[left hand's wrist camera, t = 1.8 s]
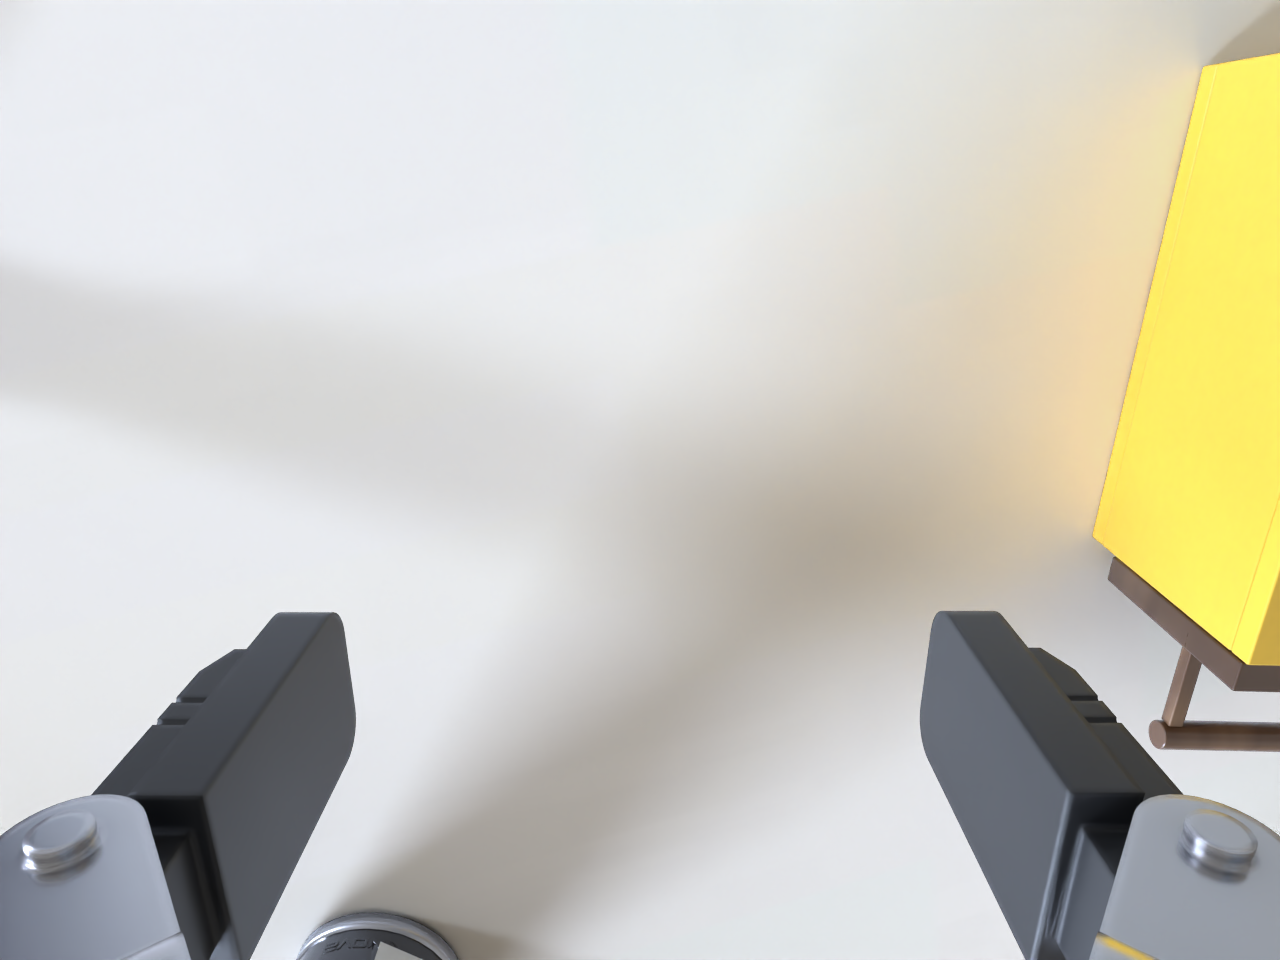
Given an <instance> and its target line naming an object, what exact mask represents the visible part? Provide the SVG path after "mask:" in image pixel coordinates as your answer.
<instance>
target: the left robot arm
mask: <svg viewBox="0 0 1280 960" xmlns="http://www.w3.org/2000/svg"><path fill="white" fill-rule="evenodd" d="M355 727H356V712H355V704H354V697H353V689H352V682H351V675H350V668H349V661H348V654H347V647H346V639H345V632H344V627H343V623H342V620H341V618H340V616H339V615H338V614H337V613H334V612H281V613H277V614H276V615H275V616H274V617H273V618H272V619H271V620H270V621H269V622H268V624H267V625H266V626H265V627H264V629H263V630H262V631H261V632H260V633H259V635H258V636H257V637H256V638H255V640H254V641H253V642H252V643H251V645H250V646H249V647H248V648H247V649H234V650H233V651H231V652H230V653H228V654H226V655H225V656H223V657H222V658H220V659H219V660H217V661H215V662H214V663H212V664H211V665H209V666H207V667H206V668H204V669H203V670H201V671H199V673H198V674H197V675H196V676H195V677H194V678H193V679H192V681H191V682H190V683H189V684H188V685H187V686H186V687H185V689H184V690H183V691H182V692H181V693H180V694H179V695H178V697H177V701H176V703H171V705H170V706H169V707H168V708H167V709H166V710H165V711H164V713H163V714H162V715H161V716H160V717H159V718H158V723H157V725H152V726H151V727H150V729H149V730H148V731H147V732H146V733H145V734H144V735H143V737H142V738H141V739H140V740H139V741H138V742H137V743H136V745H135V746H134V747H133V748H132V749H131V750H130V751H129V753H128V754H127V755H126V756H125V757H124V758H123V759H122V761H121V762H120V763H119V764H118V765H117V766H116V767H115V769H114V770H113V771H112V772H111V773H110V774H109V775H108V777H107V778H106V779H105V780H104V781H103V782H102V783H101V785H100V786H99V787H98V788H97V789H96V790H95V791H94V793H93V794H92V795H91V796H85V797H80V798H76V799H71V800H68V801H65V802H62V803H59V804H56V805H54V806H51V807H49V808H46V809H44V810H42V811H39V812H37V813H35V814H33V815H31V816H29V817H28V818H26V819H24V820H23V821H21V822H19V823H18V824H16V825H15V826H13V827H12V828H10V829H9V830H8V831H6V832H5V833H4V834H2V835H1V836H0V960H250V958H251V956H252V954H253V952H254V950H255V948H256V946H257V944H258V942H259V940H260V938H261V936H262V934H263V932H264V930H265V928H266V926H267V924H268V922H269V920H270V918H271V915H272V913H273V911H274V909H275V907H276V905H277V903H278V901H279V899H280V897H281V895H282V893H283V891H284V889H285V887H286V885H287V883H288V881H289V879H290V877H291V875H292V873H293V871H294V869H295V867H296V865H297V863H298V861H299V859H300V857H301V855H302V853H303V851H304V849H305V847H306V844H307V842H308V840H309V838H310V836H311V834H312V832H313V830H314V828H315V826H316V824H317V822H318V820H319V818H320V816H321V814H322V812H323V810H324V808H325V806H326V804H327V802H328V800H329V798H330V796H331V794H332V792H333V790H334V788H335V786H336V784H337V782H338V780H339V778H340V776H341V773H342V771H343V769H344V767H345V765H346V763H347V761H348V759H349V757H350V754H351V751H352V747H353V742H354V736H355ZM920 729H921V737H922V742H923V746H924V750H925V753H926V756H927V758H928V760H929V762H930V764H931V767H932V769H933V771H934V773H935V775H936V777H937V779H938V781H939V783H940V785H941V787H942V789H943V791H944V793H945V795H946V797H947V799H948V801H949V804H950V806H951V808H952V810H953V812H954V814H955V816H956V818H957V820H958V822H959V824H960V826H961V828H962V830H963V832H964V834H965V836H966V838H967V840H968V843H969V845H970V847H971V849H972V851H973V853H974V855H975V857H976V859H977V861H978V863H979V865H980V867H981V869H982V871H983V873H984V875H985V877H986V879H987V882H988V884H989V886H990V888H991V890H992V892H993V894H994V896H995V898H996V900H997V902H998V904H999V906H1000V908H1001V910H1002V912H1003V914H1004V916H1005V919H1006V921H1007V923H1008V925H1009V927H1010V929H1011V931H1012V933H1013V935H1014V937H1015V939H1016V941H1017V943H1018V945H1019V947H1020V949H1021V951H1022V953H1023V955H1024V958H1025V960H1280V836H1279V835H1278V834H1276V833H1275V832H1274V831H1272V830H1271V829H1270V828H1268V827H1267V826H1265V825H1264V824H1262V823H1261V822H1259V821H1257V820H1256V819H1254V818H1252V817H1251V816H1249V815H1247V814H1245V813H1243V812H1241V811H1238V810H1236V809H1234V808H1231V807H1229V806H1226V805H1224V804H1221V803H1218V802H1215V801H1212V800H1209V799H1204V798H1200V797H1195V796H1188V795H1183V794H1182V792H1181V791H1180V790H1179V789H1178V788H1177V787H1176V786H1175V784H1174V783H1173V782H1172V781H1171V780H1170V779H1169V777H1168V776H1167V775H1166V774H1165V773H1164V772H1163V771H1162V769H1161V768H1160V767H1159V766H1158V765H1157V764H1156V762H1155V761H1154V760H1153V759H1152V758H1151V757H1150V756H1149V754H1148V753H1147V752H1146V751H1145V750H1144V749H1143V747H1142V746H1141V745H1140V744H1139V743H1138V742H1137V741H1136V739H1135V738H1134V737H1133V736H1132V735H1131V734H1130V732H1129V731H1128V730H1127V729H1126V728H1125V727H1124V726H1123V724H1122V723H1117V721H1116V716H1115V715H1114V714H1113V713H1112V712H1111V711H1110V709H1109V708H1108V707H1107V706H1106V705H1105V704H1104V702H1103V701H1098V696H1097V694H1096V693H1095V692H1094V691H1093V690H1092V689H1091V687H1090V686H1089V685H1088V684H1087V683H1086V682H1085V681H1084V679H1083V678H1082V677H1081V676H1080V675H1079V674H1078V672H1077V671H1076V670H1075V669H1073V668H1071V667H1070V666H1068V665H1067V664H1065V663H1064V662H1062V661H1060V660H1059V659H1057V658H1056V657H1054V656H1052V655H1051V654H1049V653H1048V652H1046V651H1045V650H1043V649H1041V648H1028V647H1027V646H1026V645H1025V643H1024V642H1023V641H1022V640H1021V638H1020V637H1019V636H1018V635H1017V633H1016V632H1015V631H1014V630H1013V628H1012V627H1011V626H1010V625H1009V624H1008V622H1007V621H1006V620H1005V619H1004V617H1003V616H1002V615H1001V614H1000V613H998V612H996V611H940V612H938V613H937V614H936V616H935V618H934V620H933V623H932V628H931V635H930V642H929V649H928V657H927V664H926V671H925V678H924V686H923V693H922V700H921V708H920ZM296 960H458V959H457V957H456V955H455V953H454V952H453V950H452V949H451V948H450V946H449V945H448V944H447V943H446V942H445V941H444V940H443V939H442V938H441V937H440V936H438V935H437V934H436V933H434V932H433V931H431V930H430V929H428V928H427V927H425V926H423V925H421V924H419V923H417V922H414V921H412V920H409V919H406V918H403V917H399V916H395V915H390V914H382V913H360V914H353V915H347V916H343V917H340V918H337V919H334V920H332V921H330V922H328V923H326V924H324V925H322V926H321V927H319V928H318V929H317V930H315V931H314V932H313V933H312V934H311V935H310V936H309V937H308V938H307V939H306V941H305V942H304V944H303V946H302V948H301V950H300V952H299V954H298V957H297V959H296Z"/></svg>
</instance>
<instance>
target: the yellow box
mask: <svg viewBox="0 0 1280 960" xmlns="http://www.w3.org/2000/svg"><path fill="white" fill-rule="evenodd" d="M1093 538H1095V539H1096V540H1097V541H1098V542H1100V543H1101V544H1103V546H1104V547H1105V548H1107V549H1108V550H1109V551H1110V552H1111V553H1113V554H1114V555H1115V556H1116V557H1118V558H1119V559H1120V560H1121V561H1122V562H1124V563H1125V564H1126V565H1127V566H1128V567H1130V568H1131V569H1132V570H1133V571H1134V572H1136V573H1137V574H1138V575H1139V576H1141V577H1142V578H1143V579H1144V580H1145V581H1147V582H1148V583H1149V584H1150V585H1151V586H1153V587H1154V588H1155V589H1156V590H1157V591H1159V592H1160V593H1161V594H1162V595H1164V596H1165V597H1166V598H1167V599H1168V600H1170V601H1171V602H1172V603H1173V604H1174V605H1176V606H1177V607H1178V608H1179V609H1180V610H1182V611H1183V612H1184V613H1185V614H1187V615H1188V616H1189V617H1190V618H1191V619H1193V620H1194V621H1195V622H1196V623H1197V624H1199V625H1200V626H1201V627H1202V628H1204V629H1205V630H1206V631H1207V632H1208V633H1210V634H1211V635H1212V636H1213V637H1214V638H1216V639H1217V640H1218V641H1219V642H1220V643H1222V644H1223V645H1224V646H1225V647H1227V648H1228V649H1229V650H1232V652H1233V653H1234V654H1235V655H1236V656H1238V657H1239V658H1240V659H1241V660H1242V661H1244V662H1245V663H1246V664H1248V665H1274V666H1280V53H1275V54H1270V55H1264V56H1258V57H1252V58H1247V59H1241V60H1235V61H1229V62H1224V63H1218V64H1213V65H1207V66H1204V67H1203V69H1202V74H1201V78H1200V82H1199V86H1198V91H1197V95H1196V99H1195V103H1194V107H1193V112H1192V116H1191V120H1190V124H1189V129H1188V133H1187V137H1186V141H1185V146H1184V150H1183V154H1182V158H1181V162H1180V167H1179V171H1178V175H1177V179H1176V184H1175V188H1174V192H1173V196H1172V201H1171V205H1170V209H1169V213H1168V217H1167V222H1166V226H1165V230H1164V234H1163V239H1162V243H1161V247H1160V251H1159V256H1158V260H1157V264H1156V268H1155V273H1154V277H1153V281H1152V285H1151V289H1150V294H1149V298H1148V302H1147V306H1146V311H1145V315H1144V319H1143V323H1142V328H1141V332H1140V336H1139V340H1138V344H1137V349H1136V353H1135V357H1134V361H1133V366H1132V370H1131V374H1130V378H1129V383H1128V387H1127V391H1126V395H1125V400H1124V404H1123V408H1122V412H1121V416H1120V421H1119V425H1118V429H1117V433H1116V438H1115V442H1114V446H1113V450H1112V455H1111V459H1110V463H1109V467H1108V471H1107V476H1106V480H1105V484H1104V488H1103V493H1102V497H1101V501H1100V505H1099V510H1098V514H1097V518H1096V522H1095V526H1094V531H1093Z"/></svg>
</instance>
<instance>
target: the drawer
mask: <svg viewBox="0 0 1280 960" xmlns="http://www.w3.org/2000/svg"><path fill="white" fill-rule="evenodd" d="M1108 580H1109V581H1110V582H1111V583H1112V584H1113V585H1114V586H1116V587H1117V588H1118V589H1119V590H1120V591H1121V592H1122V593H1123V594H1125V595H1126V596H1127V597H1128V598H1129V599H1130V600H1131V601H1132V602H1134V603H1135V604H1136V605H1137V606H1138V607H1139V608H1140V609H1141V610H1143V611H1144V612H1145V613H1146V614H1147V615H1148V616H1149V617H1150V618H1152V619H1153V620H1154V621H1155V622H1156V623H1157V624H1158V625H1159V626H1161V627H1162V628H1163V629H1164V630H1165V631H1166V632H1167V633H1168V634H1170V635H1171V636H1172V637H1173V638H1174V639H1175V640H1176V641H1177V642H1179V643H1180V644H1181V645H1182V646H1183V647H1182V650H1181V654H1180V657H1179V660H1178V664H1177V667H1176V671H1175V674H1174V677H1173V681H1172V684H1171V688H1170V691H1169V695H1168V698H1167V701H1166V705H1165V708H1164V712H1163V715H1162V719H1163V720H1154V721H1152V722H1151V723H1150V726H1149V737H1150V740H1151V742H1152V744H1153V745H1154V746H1155V747H1156V748H1158V749H1170V750H1215V751H1261V752H1280V723H1271V722H1226V721H1184V720H1185V717H1186V714H1187V710H1188V707H1189V704H1190V701H1191V697H1192V694H1193V691H1194V687H1195V684H1196V681H1197V678H1198V674H1199V671H1200V668H1201V664H1203V665H1204V666H1206V667H1207V668H1208V669H1209V670H1210V671H1211V672H1212V673H1213V674H1214V675H1216V676H1217V677H1218V678H1219V679H1220V680H1221V681H1222V682H1223V683H1225V684H1226V685H1227V686H1228V687H1229V688H1230V689H1231V690H1233V691H1256V692H1280V666H1274V665H1248V664H1246V663H1245V662H1244V661H1242V660H1241V659H1240V658H1239V657H1238V656H1236V655H1235V654H1234V653H1233V652H1232V650H1229V649H1228V648H1227V647H1225V646H1224V645H1223V644H1222V643H1220V642H1219V641H1218V640H1217V639H1216V638H1214V637H1213V636H1212V635H1211V634H1210V633H1208V632H1207V631H1206V630H1205V629H1204V628H1202V627H1201V626H1200V625H1199V624H1197V623H1196V622H1195V621H1194V620H1193V619H1191V618H1190V617H1189V616H1188V615H1187V614H1185V613H1184V612H1183V611H1182V610H1180V609H1179V608H1178V607H1177V606H1176V605H1174V604H1173V603H1172V602H1171V601H1170V600H1168V599H1167V598H1166V597H1165V596H1164V595H1162V594H1161V593H1160V592H1159V591H1157V590H1156V589H1155V588H1154V587H1153V586H1151V585H1150V584H1149V583H1148V582H1147V581H1145V580H1144V579H1143V578H1142V577H1141V576H1139V575H1138V574H1137V573H1136V572H1134V571H1133V570H1132V569H1131V568H1130V567H1128V566H1127V565H1126V564H1125V563H1124V562H1122V561H1121V560H1120V559H1119V558H1118V557H1113V560H1112V564H1111V568H1110V572H1109V576H1108Z"/></svg>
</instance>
